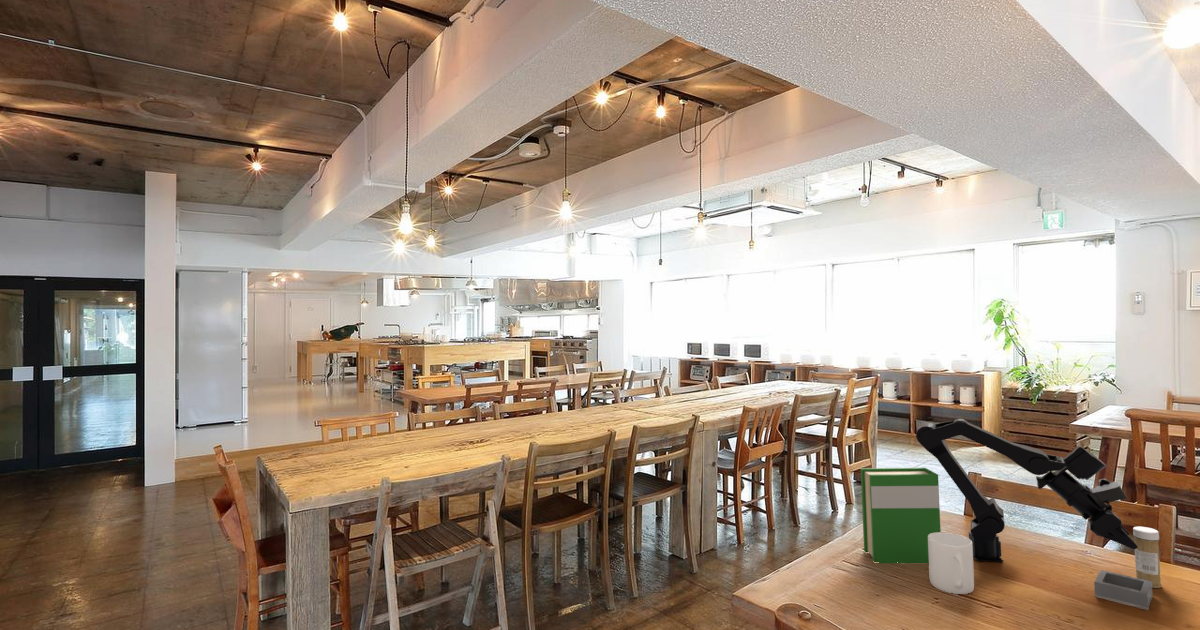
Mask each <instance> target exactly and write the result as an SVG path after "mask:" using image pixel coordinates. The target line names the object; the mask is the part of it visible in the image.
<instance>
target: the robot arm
mask: <svg viewBox="0 0 1200 630" xmlns="http://www.w3.org/2000/svg"><path fill="white" fill-rule="evenodd" d="M915 433H916V434H915V438H916V440H917V442H918V443H919V444H920V445H921V446H922V447H923V448H924V449H925V450H926V451H927V452H928V453H929V454H931V455H932V456H933V457H935V459H936V460H937V461H938V462H939V464H941V466H942V467H943V470H945V473H947V475H948V476H949V477H950V478H951V480H952V481H953V483H954V484H955V485H956V487H957V488H958V489H959V491H960V492H961V493H962V496H964V497H965V499H966V501H968V504H969V505H970V507H971V509H972V512H973V515H974V517H975V518H973V519H972V520H970V530H969V532H968V538H969V539H970V540H971V541H972V546H973V559H974V560H975V561H977V562H999V563H1000V562H1001V563H1002V562H1004V559H1003V558H1001V557H1002V543H1001V541H1000V538H999V537H1000V536H998V534H1000V533H1002V532H1003V531H1004V529H1005V525H1006V524H1005V515H1004V514H1005V513H1004V512H1005V511H1004V509H1003V508H1001V507H1000V506H999V504H998V503H997V501H996V499H995V498H994V497H991V498H990V499H988V498H987V496H985V495H984V494H983V493H982V492H981V491H980V490H979V488H978V486H977V485H976V484H975V483H974V481H973V480H972V478H971V477H970V476H969V475H968V473H967V472H966V471H965V470H964V468H963V467H962V465H961V464H960V462H959V461H958V460H957V459H956V457H955V455H953V453H952V452H951V451H950V449H949V447H948V444H947V442H946V440H948V439H952V438H956V437H958V436H962V437H964V438H967V439H969V440H971V441H973V442H976V443H977V444H980V445H981V446H984V447H986V448H988V449H990V450H992V451H994V452H997V453H999V454H1000V455H1003V456H1005V457H1007V458H1008V459H1010V460H1011V461H1013V462H1014V463H1015V464H1017V465H1018V466H1019V467H1021V468H1022V469H1023V470H1025V471H1027V472H1028V473H1030V474H1032V475H1034V476H1035V480H1036V485H1037V488H1038V489H1039V490H1042V489H1043V488H1044V487H1046V486H1047V487H1049V489H1050V490H1052V491H1053V492H1054V493H1056V494H1057V495H1058V496H1059V497H1060V498H1062V499H1063V500H1064V502H1065V503H1066V505H1068V506H1069V507H1072V508H1073V509H1074V510H1075V511H1076V512H1077V513H1079V514H1080V515H1081V517H1082V518H1083V519H1084V520H1087V525H1088V528H1089V530H1090V531H1091V532H1093V533H1094V534H1095V536H1098V537H1100V538H1105V539H1108V540H1110V541H1112V542H1114V543H1117V544H1119V545H1122V546H1123V547H1127V548H1129V549H1132V550H1135V549H1136V548H1138V546H1137V545H1136V544H1135V541H1134V540H1132V538H1131V537H1130V532H1129V531H1128V530H1127V528H1125V527H1124V526H1123V522H1122V519H1121V518H1120V517H1119V516H1118V515H1117V514H1116V513H1115V512H1113V507H1112V504H1111V503H1112V502H1116V501H1125V500H1127V499H1128V497H1127V495H1126V494H1125V491H1124V490H1123V489H1122V487H1121V485H1120V484H1119V483H1118V482H1117V481H1112V482H1111V481H1110V480H1108V479H1106V478H1101V479H1098V485H1096V486H1095V487H1093V488H1090V487H1089V486H1088V485H1084V484H1082V483H1080V482H1079V481H1078V480H1086V481H1088V480H1090V479H1091V478H1092V477H1093V476H1095V475H1096V474H1098V473H1099V472H1101V471H1102V470H1104V469H1105V468H1106V467H1107V465H1106V463H1104V462H1103V461H1102V460H1101V459H1100V458H1098V456H1096V455H1095V454H1094V453H1093V452H1090V451H1088V450H1087V449H1086V448H1084V447H1083V446H1081V445H1078V446H1076V447H1075V448H1074V449H1073V450H1072V451H1071V452H1070V453H1068V454H1067V455H1065V456H1064V457H1063V456H1059V455H1053V454H1048V453H1046V452H1045V451H1043V450H1041V449H1039V448H1035V447H1033V446H1029V445H1025V444H1021V443H1020V444H1019V443H1016V442H1012V441H1010V440H1008V439H1005V438H1004V437H1001V436H999V435H997V434H995V433H992V432H990V431H988V430H986V429H984V428H982V427H980V426H977V425H976V424H972V423H970V422H968V420H966V419H963V418H956V419H954V420H950V421H944V422H938V423H935V424H934V423H932V422H931V423H930V422H925V423H923V424H921V425H920V426H919V427H918V428H917V431H916V432H915ZM1067 471H1068V472H1069V473H1068V472H1067ZM1070 473H1071V474H1072V475H1073V476H1074V477H1075V478H1074V477H1073V476H1072V475H1071V474H1070ZM1042 475H1043V476H1042ZM1077 479H1078V480H1077Z"/></svg>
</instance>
